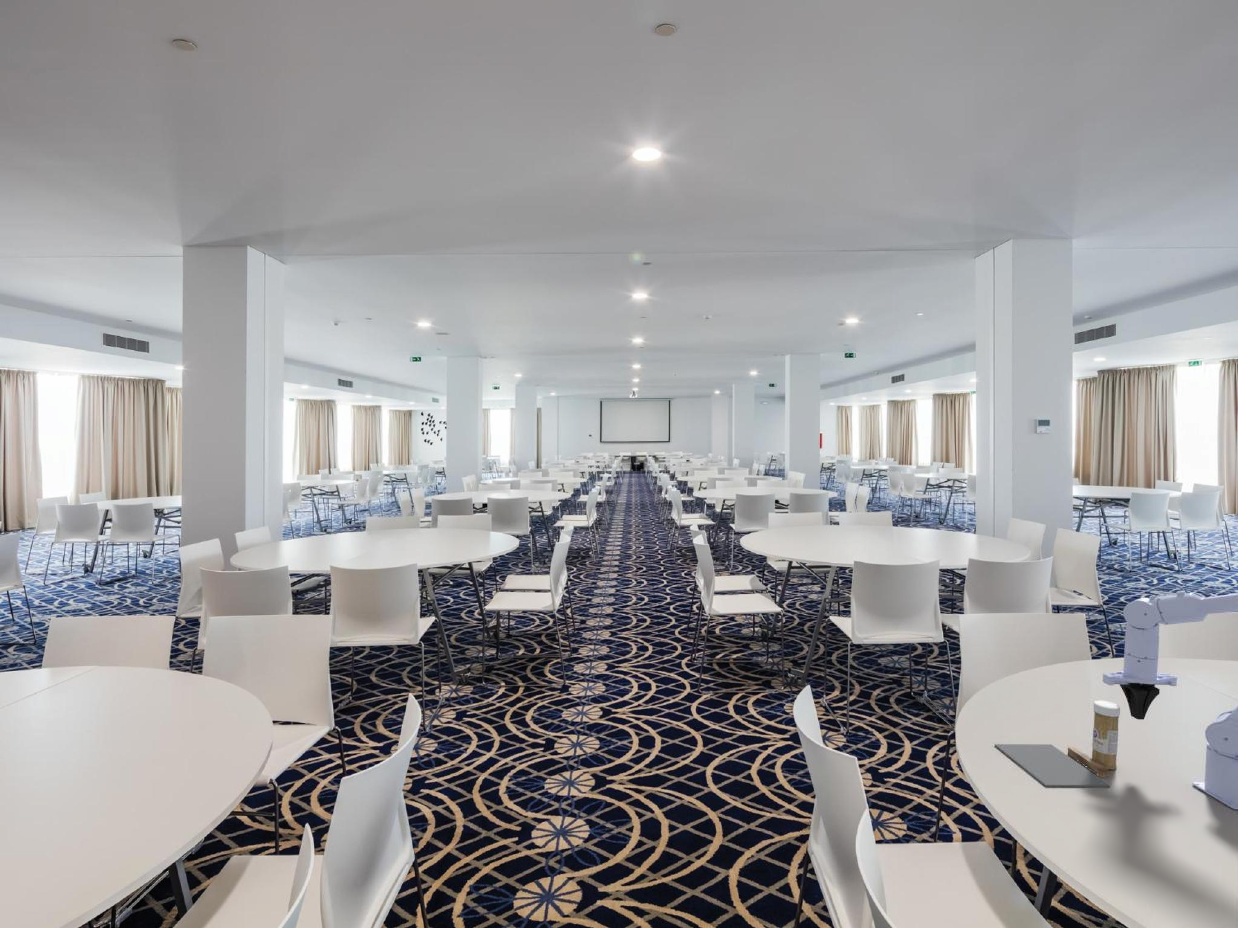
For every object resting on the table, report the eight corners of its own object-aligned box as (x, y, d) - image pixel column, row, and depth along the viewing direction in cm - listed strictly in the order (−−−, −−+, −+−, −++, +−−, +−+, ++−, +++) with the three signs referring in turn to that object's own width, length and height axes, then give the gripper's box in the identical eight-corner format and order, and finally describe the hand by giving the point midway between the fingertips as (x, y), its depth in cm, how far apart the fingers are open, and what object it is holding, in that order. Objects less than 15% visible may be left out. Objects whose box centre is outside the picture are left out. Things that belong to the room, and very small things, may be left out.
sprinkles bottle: (1085, 760, 149) (1088, 699, 148) (1105, 759, 149) (1108, 699, 148) (1102, 771, 144) (1105, 708, 143) (1122, 770, 144) (1125, 707, 144)
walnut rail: (1107, 776, 141) (1107, 769, 141) (1100, 776, 141) (1100, 769, 141) (1074, 754, 151) (1074, 747, 151) (1067, 754, 151) (1068, 747, 151)
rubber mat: (1109, 786, 137) (1109, 784, 137) (1045, 786, 137) (1045, 784, 137) (1051, 746, 155) (1051, 744, 155) (994, 745, 155) (994, 743, 155)
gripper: (1159, 649, 150) (1155, 710, 150) (1094, 648, 150) (1090, 709, 150) (1186, 660, 143) (1182, 723, 143) (1118, 659, 142) (1114, 723, 143)
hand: (1137, 717), depth 146 cm, fingers closed
